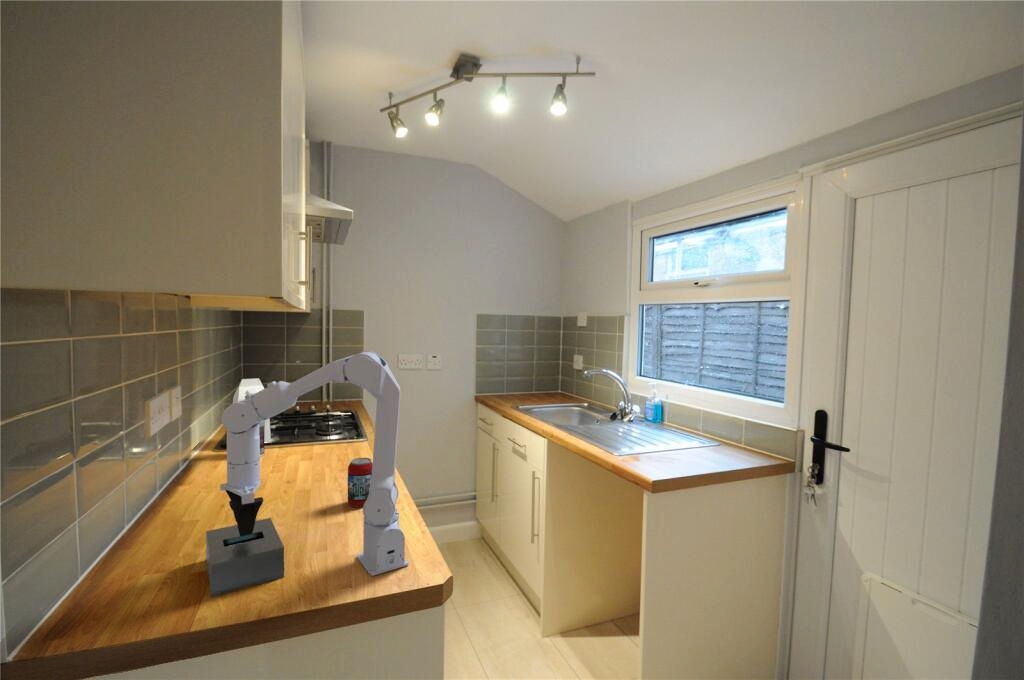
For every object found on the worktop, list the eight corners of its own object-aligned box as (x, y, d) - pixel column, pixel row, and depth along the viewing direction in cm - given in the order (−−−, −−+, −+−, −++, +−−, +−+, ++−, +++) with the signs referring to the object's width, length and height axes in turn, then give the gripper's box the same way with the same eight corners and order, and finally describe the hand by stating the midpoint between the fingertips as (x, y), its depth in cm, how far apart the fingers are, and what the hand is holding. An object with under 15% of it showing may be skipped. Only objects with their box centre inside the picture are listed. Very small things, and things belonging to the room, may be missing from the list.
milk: (264, 439, 193) (263, 376, 192) (271, 445, 184) (270, 379, 183) (230, 443, 185) (230, 378, 184) (236, 450, 176) (235, 381, 175)
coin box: (284, 577, 91) (284, 547, 91) (211, 597, 84) (210, 564, 84) (270, 544, 104) (270, 517, 104) (206, 559, 97) (206, 531, 97)
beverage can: (346, 509, 124) (346, 465, 123) (348, 500, 130) (348, 457, 130) (373, 507, 126) (373, 463, 125) (373, 498, 132) (374, 456, 132)
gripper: (217, 454, 97) (217, 518, 97) (223, 474, 85) (223, 547, 86) (255, 449, 101) (255, 511, 102) (266, 467, 89) (266, 537, 90)
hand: (243, 527), depth 94 cm, fingers open, 7 cm apart
